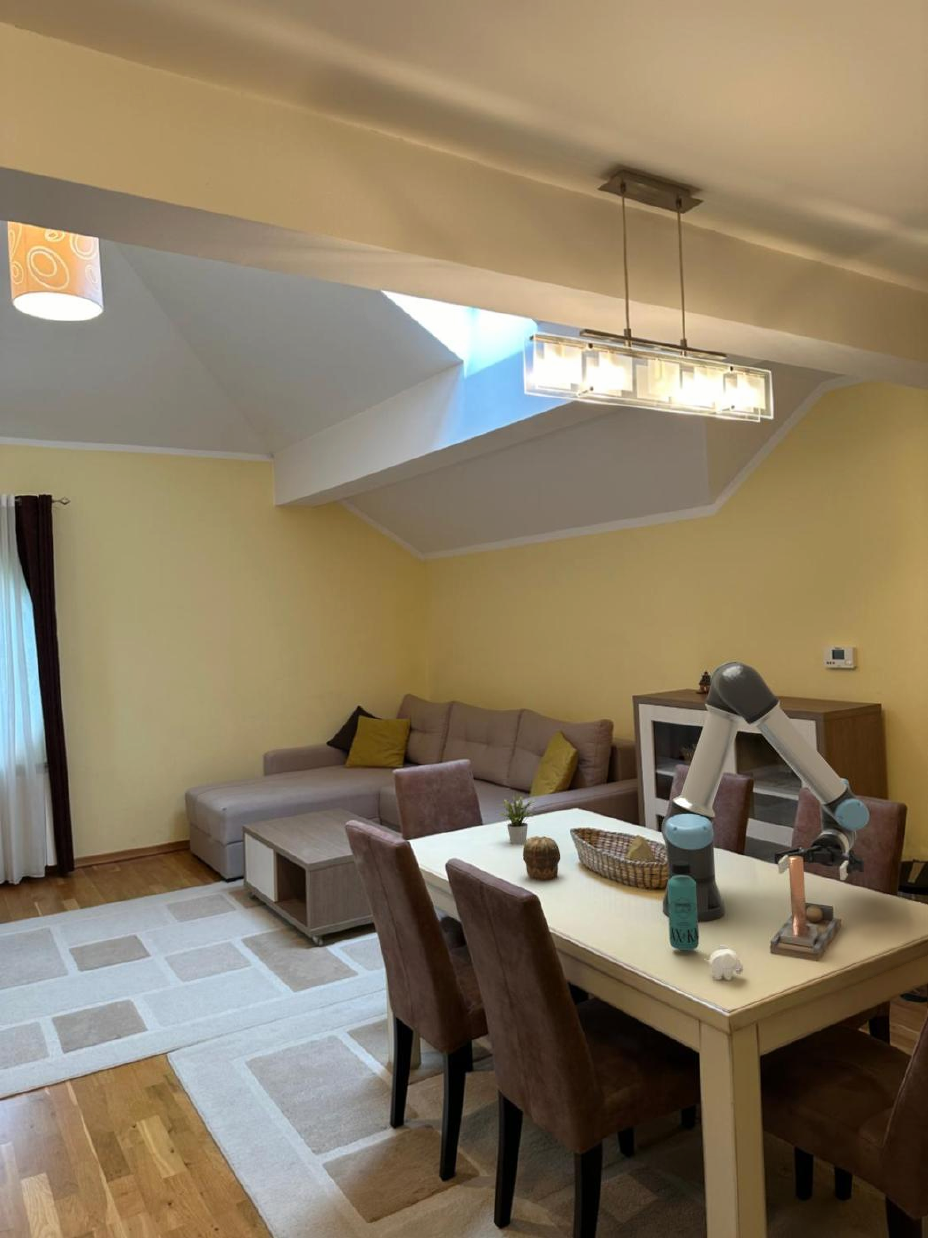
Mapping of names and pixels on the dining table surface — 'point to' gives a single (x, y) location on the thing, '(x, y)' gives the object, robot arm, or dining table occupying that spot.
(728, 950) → the elephant figurine
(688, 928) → the beverage bottle
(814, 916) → the nutcracker base
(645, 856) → the rock
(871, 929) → the dining table surface
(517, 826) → the house plant
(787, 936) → the copper post
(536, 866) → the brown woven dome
